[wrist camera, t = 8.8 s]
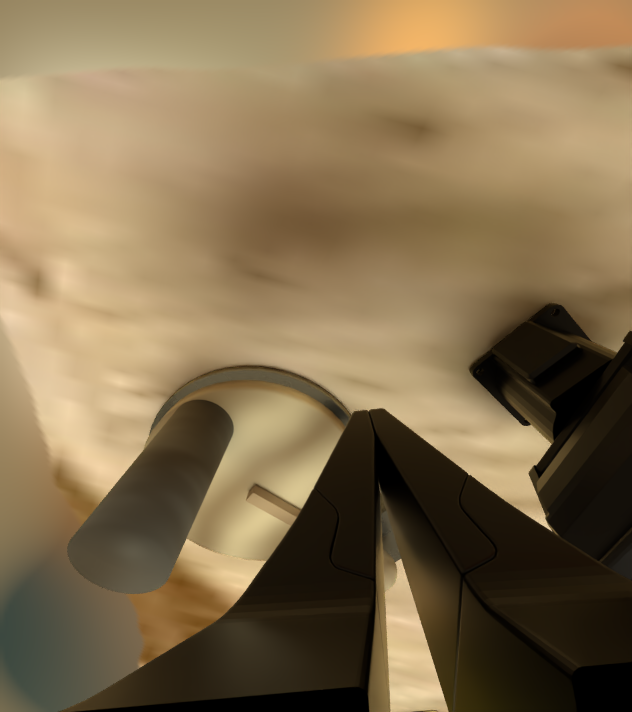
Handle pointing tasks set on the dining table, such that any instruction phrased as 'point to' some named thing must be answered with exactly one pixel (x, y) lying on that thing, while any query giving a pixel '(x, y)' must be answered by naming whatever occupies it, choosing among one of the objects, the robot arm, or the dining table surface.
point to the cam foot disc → (211, 484)
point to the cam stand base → (292, 382)
